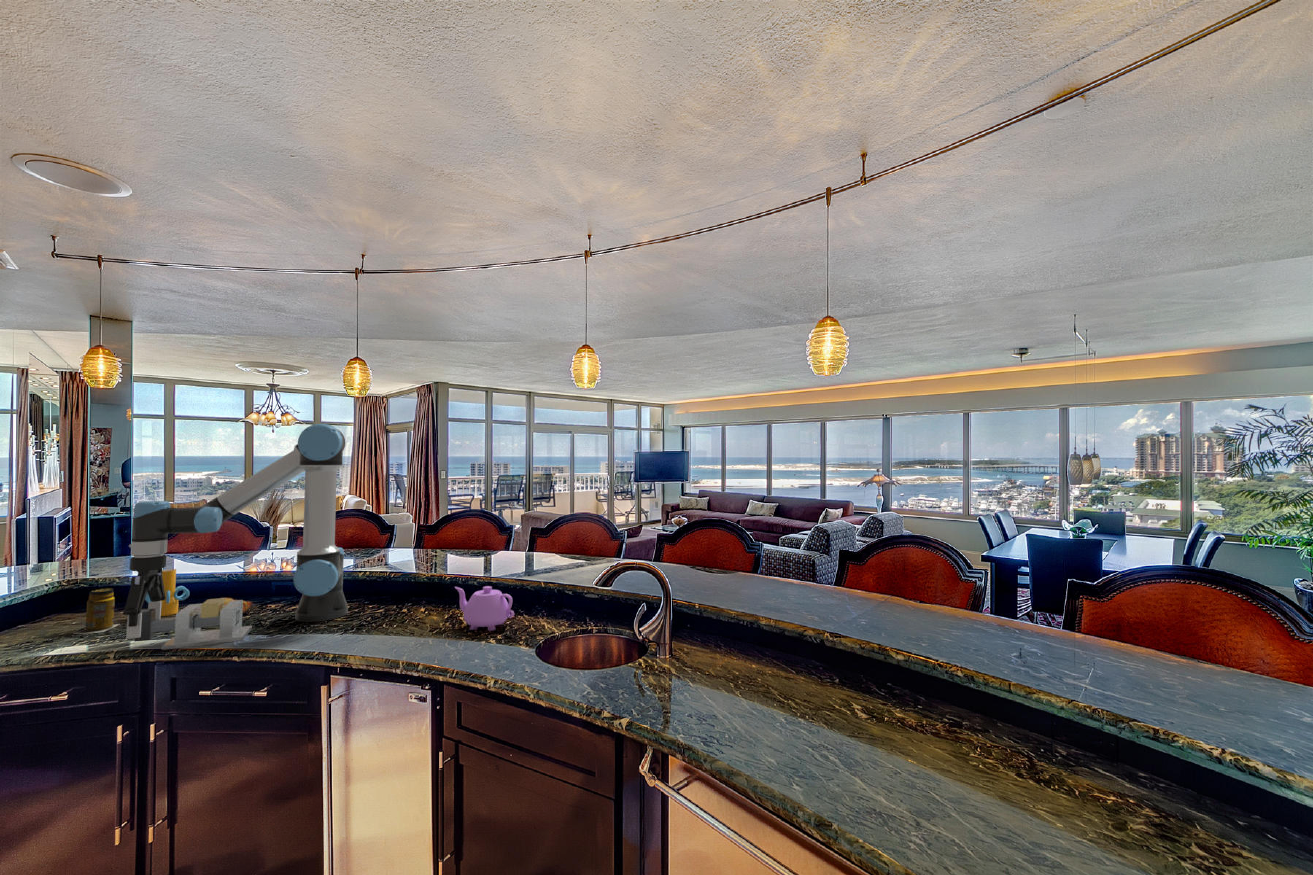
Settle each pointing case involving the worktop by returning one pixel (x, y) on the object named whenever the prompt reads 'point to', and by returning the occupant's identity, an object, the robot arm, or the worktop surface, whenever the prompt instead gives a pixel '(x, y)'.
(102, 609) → the condiment
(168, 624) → the bar
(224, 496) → the robot arm
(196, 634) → the frame
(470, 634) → the worktop surface
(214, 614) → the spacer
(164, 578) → the cylinder
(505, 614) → the teapot
